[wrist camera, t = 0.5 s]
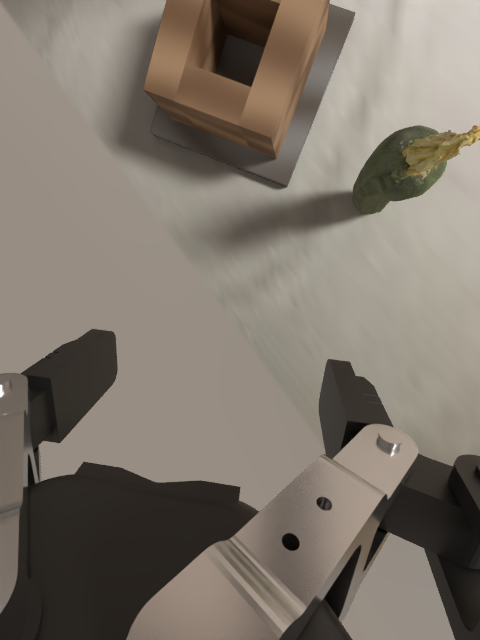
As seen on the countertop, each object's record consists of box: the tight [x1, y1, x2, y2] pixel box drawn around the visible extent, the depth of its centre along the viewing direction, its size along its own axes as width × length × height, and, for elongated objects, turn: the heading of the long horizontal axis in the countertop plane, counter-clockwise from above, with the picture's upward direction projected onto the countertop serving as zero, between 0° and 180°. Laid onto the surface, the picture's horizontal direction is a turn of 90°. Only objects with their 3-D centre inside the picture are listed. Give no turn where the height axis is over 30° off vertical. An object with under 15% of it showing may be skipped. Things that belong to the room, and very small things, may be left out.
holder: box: [143, 0, 355, 187], centre depth 30 cm, size 16×16×8 cm
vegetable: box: [353, 126, 480, 214], centre depth 25 cm, size 4×4×20 cm
